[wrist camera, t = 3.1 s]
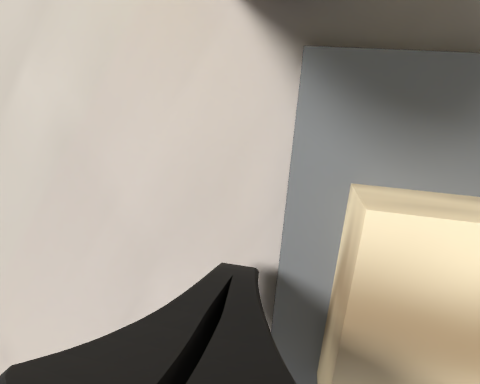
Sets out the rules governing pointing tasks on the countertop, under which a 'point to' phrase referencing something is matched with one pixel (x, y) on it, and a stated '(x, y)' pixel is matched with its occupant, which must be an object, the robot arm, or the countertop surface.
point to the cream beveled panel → (405, 290)
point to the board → (365, 164)
